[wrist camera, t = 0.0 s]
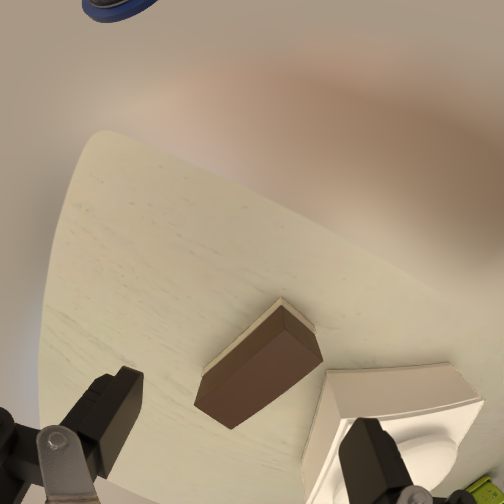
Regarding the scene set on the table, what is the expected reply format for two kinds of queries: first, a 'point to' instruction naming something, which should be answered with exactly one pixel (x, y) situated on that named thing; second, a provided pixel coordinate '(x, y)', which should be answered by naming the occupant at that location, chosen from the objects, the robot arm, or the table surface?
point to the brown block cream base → (259, 365)
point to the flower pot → (486, 492)
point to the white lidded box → (389, 422)
